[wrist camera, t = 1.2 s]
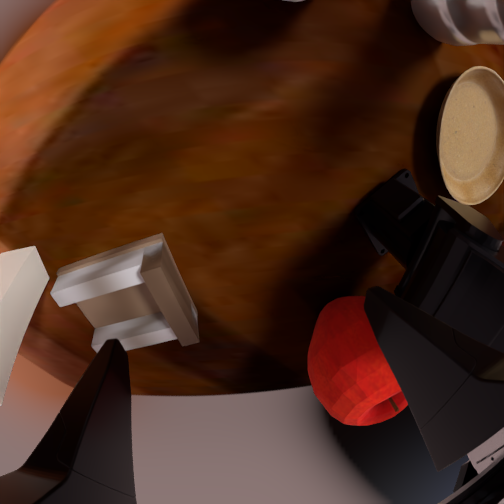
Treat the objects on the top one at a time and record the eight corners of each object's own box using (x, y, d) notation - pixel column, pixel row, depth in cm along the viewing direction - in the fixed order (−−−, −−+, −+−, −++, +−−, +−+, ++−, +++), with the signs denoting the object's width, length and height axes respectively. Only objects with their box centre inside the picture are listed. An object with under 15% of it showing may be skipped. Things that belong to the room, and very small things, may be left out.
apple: (384, 320, 34) (438, 402, 23) (301, 359, 34) (339, 454, 23) (383, 249, 27) (466, 347, 16) (275, 298, 27) (325, 426, 16)
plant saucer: (430, 216, 27) (445, 228, 24) (404, 79, 18) (425, 82, 16) (502, 168, 25) (516, 176, 23) (490, 55, 17) (508, 58, 15)
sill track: (162, 232, 21) (158, 263, 18) (197, 311, 26) (200, 344, 23) (59, 268, 21) (44, 299, 18) (105, 334, 26) (100, 366, 22)
